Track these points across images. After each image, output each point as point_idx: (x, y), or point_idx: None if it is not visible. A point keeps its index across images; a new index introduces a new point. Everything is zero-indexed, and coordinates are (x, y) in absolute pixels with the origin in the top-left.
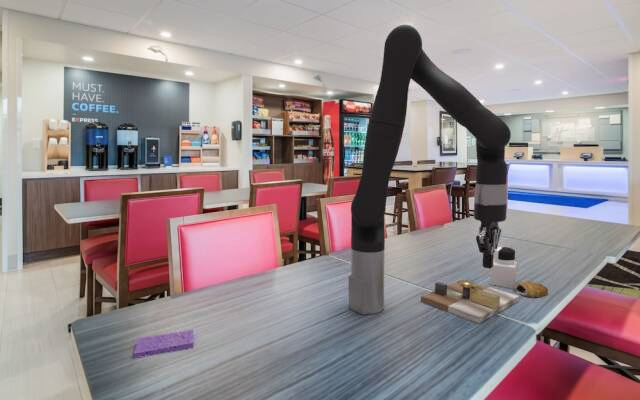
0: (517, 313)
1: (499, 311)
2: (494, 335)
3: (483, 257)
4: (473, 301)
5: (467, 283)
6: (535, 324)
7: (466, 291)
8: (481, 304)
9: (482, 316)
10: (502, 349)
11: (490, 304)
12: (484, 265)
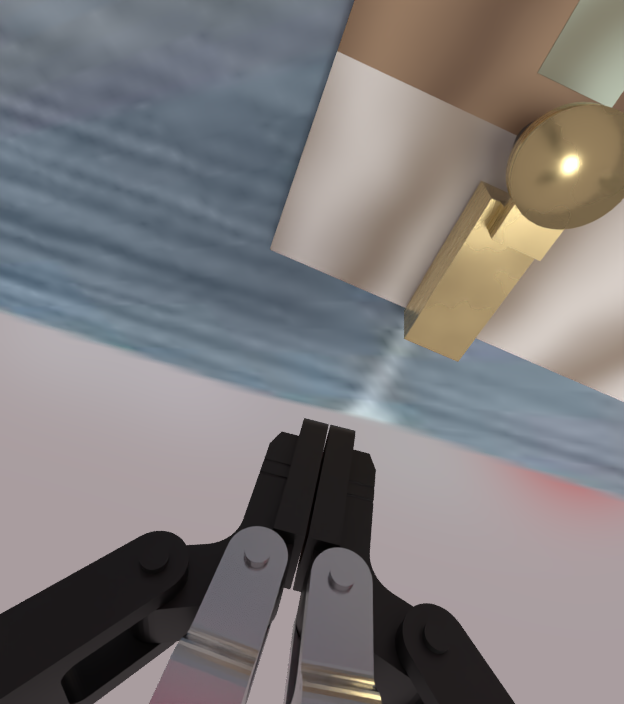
0: (465, 377)
1: None
2: (204, 299)
3: (283, 491)
4: None
5: (542, 182)
6: (378, 420)
7: None
8: None
9: (300, 260)
10: (123, 323)
11: (415, 299)
12: (276, 440)
